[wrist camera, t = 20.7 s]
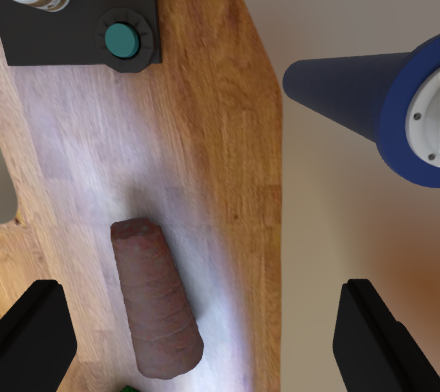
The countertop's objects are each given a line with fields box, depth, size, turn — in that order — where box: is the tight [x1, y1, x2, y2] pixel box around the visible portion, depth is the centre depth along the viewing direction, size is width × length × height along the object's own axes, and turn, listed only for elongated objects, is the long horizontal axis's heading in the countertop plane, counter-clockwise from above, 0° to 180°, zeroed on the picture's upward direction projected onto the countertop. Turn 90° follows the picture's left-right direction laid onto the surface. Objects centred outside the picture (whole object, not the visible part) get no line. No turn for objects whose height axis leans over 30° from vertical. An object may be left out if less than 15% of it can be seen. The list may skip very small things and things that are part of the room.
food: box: [110, 218, 204, 380], centre depth 40 cm, size 21×9×9 cm, turn 14°
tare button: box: [105, 23, 139, 57], centre depth 30 cm, size 3×3×2 cm
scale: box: [0, 0, 162, 73], centre depth 30 cm, size 16×13×3 cm
